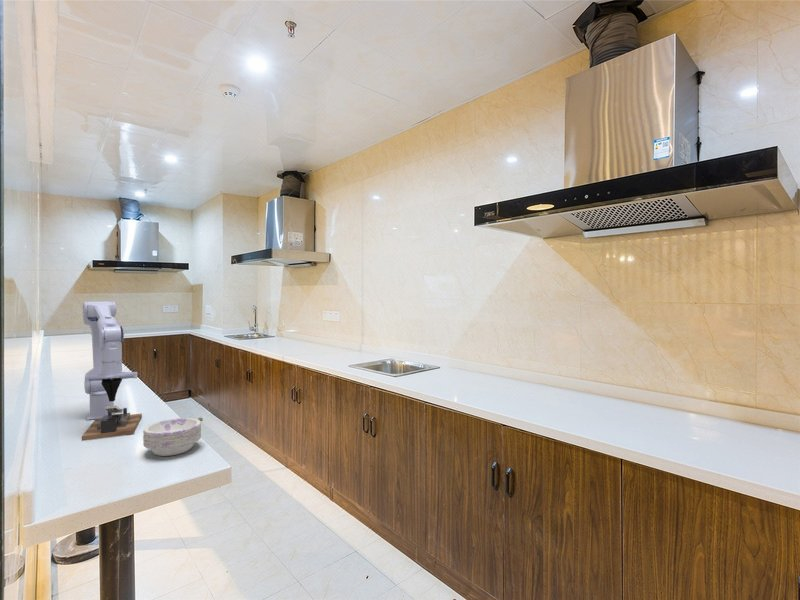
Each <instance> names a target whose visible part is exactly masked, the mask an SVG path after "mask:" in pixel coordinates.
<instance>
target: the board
mask: <svg viewBox="0 0 800 600" xmlns="http://www.w3.org/2000/svg"><path fill="white" fill-rule="evenodd" d="M142 418H143V413H135V414H130V420H129V421H128V423H127V425H126V426H125V427H118V428H117V430H116V432H109V433H101V430H97V423H98V422H99V421H100V419H101V418H97V419H94V421H93V422H92V423H91V424H90V425H89V427H87V429H86V431H85V432H84V433H82V435H81V442H84V441H92V440H99V439H100V440H101V439H108V438H116V437H122V436H123V437H124V436H130V435H134V434H135V432H136V430H137V428H138V426H139V423H140V422H141V420H142Z"/></svg>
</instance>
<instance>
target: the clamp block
mask: <svg viewBox="0 0 800 600" xmlns="http://www.w3.org/2000/svg"><path fill="white" fill-rule="evenodd" d="M122 409H123V412H122V413H115V414H114V415H112V413H111V412H109V411H108V415H105V416H103V417H102V418H101V419H100V421H99V422H98V423H97V430H101V433H109V432H116V430H117V428H118V427H125V426H126V425H127V423H128V421H129V420H130V415H131V413H130V412H128V407H123V408H122Z"/></svg>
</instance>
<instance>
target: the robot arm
mask: <svg viewBox="0 0 800 600" xmlns="http://www.w3.org/2000/svg"><path fill="white" fill-rule="evenodd" d="M116 315H117V303H116V302H115V301H114V300H111V301H109V300H108V301H85V300H84V302H83V303H82V318H83V319H82V321H83V322H84V324H85V325H88V326H89V327H90V330H91V343H92V364H93V368H92V369H89V371H87V372H86V373H85V375H84V381H83V382H84V393H85V394H87V395H89V415H88V417H87V418H85V419H86V421H89V420H90V421H91V420H96V419H97V418H102V417H103V416H105V415H108V411H107V410H106V409H105V407H106V406H115V404H114V403H115V401H116V396H117V392H118V390H119V387H120V385H121V383H122V381H123V380H126V379H127V380H128V379H137V378H138V371H123V350H122V348H123V346H122V344H123V342H124V340H125V339H124V337H125V330H124V328H123V325H120V324H118V321H117V319H116ZM115 414H116V413H113V414H112V415H115Z"/></svg>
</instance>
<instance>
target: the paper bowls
mask: <svg viewBox="0 0 800 600" xmlns="http://www.w3.org/2000/svg"><path fill="white" fill-rule="evenodd" d="M201 437H202V421H200V420H198V418H191V417H179V418H170V419H164V420H161V421H160V420H159V421H156V422H153V423H151V424H148V425H147V426H145V427H144V428H143V437H142V439H143V440H142V441H143V444H142V445H143V447H144V448H146V449H150V450H151V452H152V453H153V454H154V455H156V456H159V457H171V456H177V455H181V454H183V453H186V452H187V451H189V450H190V449H192V448H193V445H194V444H195V443H196V442H198V441H199V440H200V439H201Z"/></svg>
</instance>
